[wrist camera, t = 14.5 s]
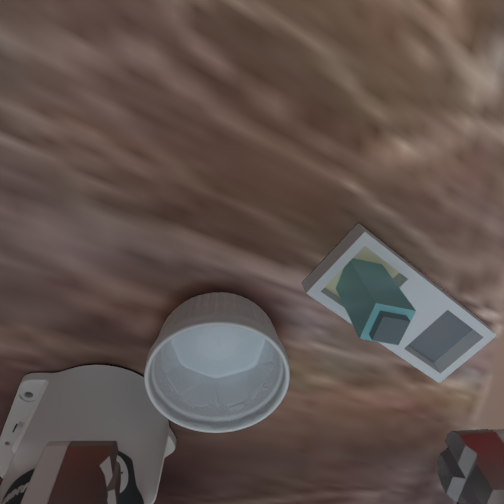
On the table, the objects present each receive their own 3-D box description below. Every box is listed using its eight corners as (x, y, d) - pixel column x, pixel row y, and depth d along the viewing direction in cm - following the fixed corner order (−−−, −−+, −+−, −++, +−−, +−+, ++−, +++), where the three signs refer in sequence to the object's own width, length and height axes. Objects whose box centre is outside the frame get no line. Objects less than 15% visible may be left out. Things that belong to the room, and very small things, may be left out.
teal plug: (368, 294, 44) (402, 351, 36) (335, 288, 43) (362, 344, 35) (382, 264, 42) (420, 316, 34) (348, 257, 41) (379, 308, 34)
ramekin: (127, 341, 44) (112, 391, 38) (209, 254, 41) (208, 294, 34) (224, 400, 49) (225, 452, 43) (306, 327, 45) (320, 373, 39)
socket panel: (431, 370, 49) (439, 383, 48) (302, 282, 43) (305, 293, 41) (486, 324, 47) (496, 335, 45) (358, 222, 40) (364, 231, 38)
